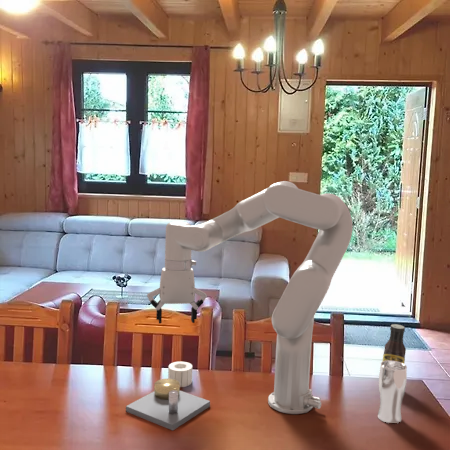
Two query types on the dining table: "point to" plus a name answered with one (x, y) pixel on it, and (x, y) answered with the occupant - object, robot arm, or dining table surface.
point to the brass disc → (165, 388)
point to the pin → (173, 402)
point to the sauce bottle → (395, 345)
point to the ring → (181, 373)
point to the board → (159, 409)
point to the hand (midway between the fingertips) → (176, 321)
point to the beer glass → (391, 390)
